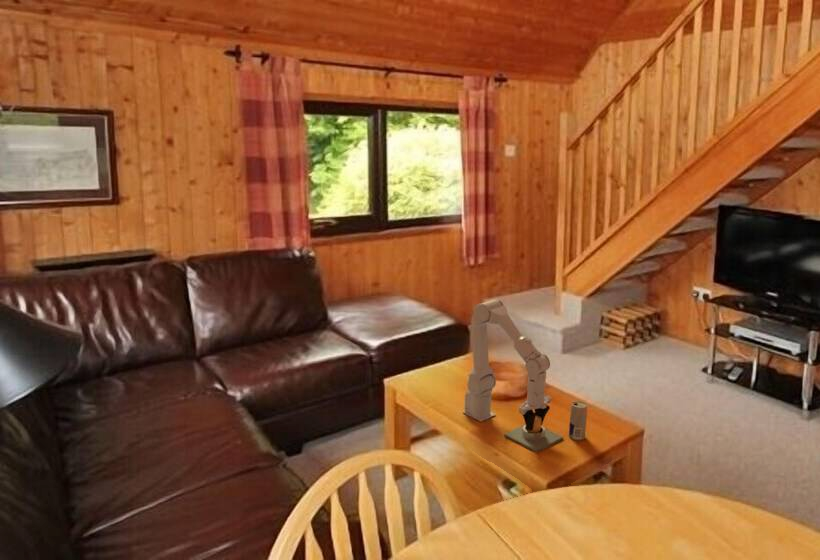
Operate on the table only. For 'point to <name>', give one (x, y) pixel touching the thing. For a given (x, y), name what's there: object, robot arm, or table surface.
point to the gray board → (533, 445)
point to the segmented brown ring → (533, 434)
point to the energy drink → (578, 420)
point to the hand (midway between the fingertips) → (534, 427)
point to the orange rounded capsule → (536, 425)
